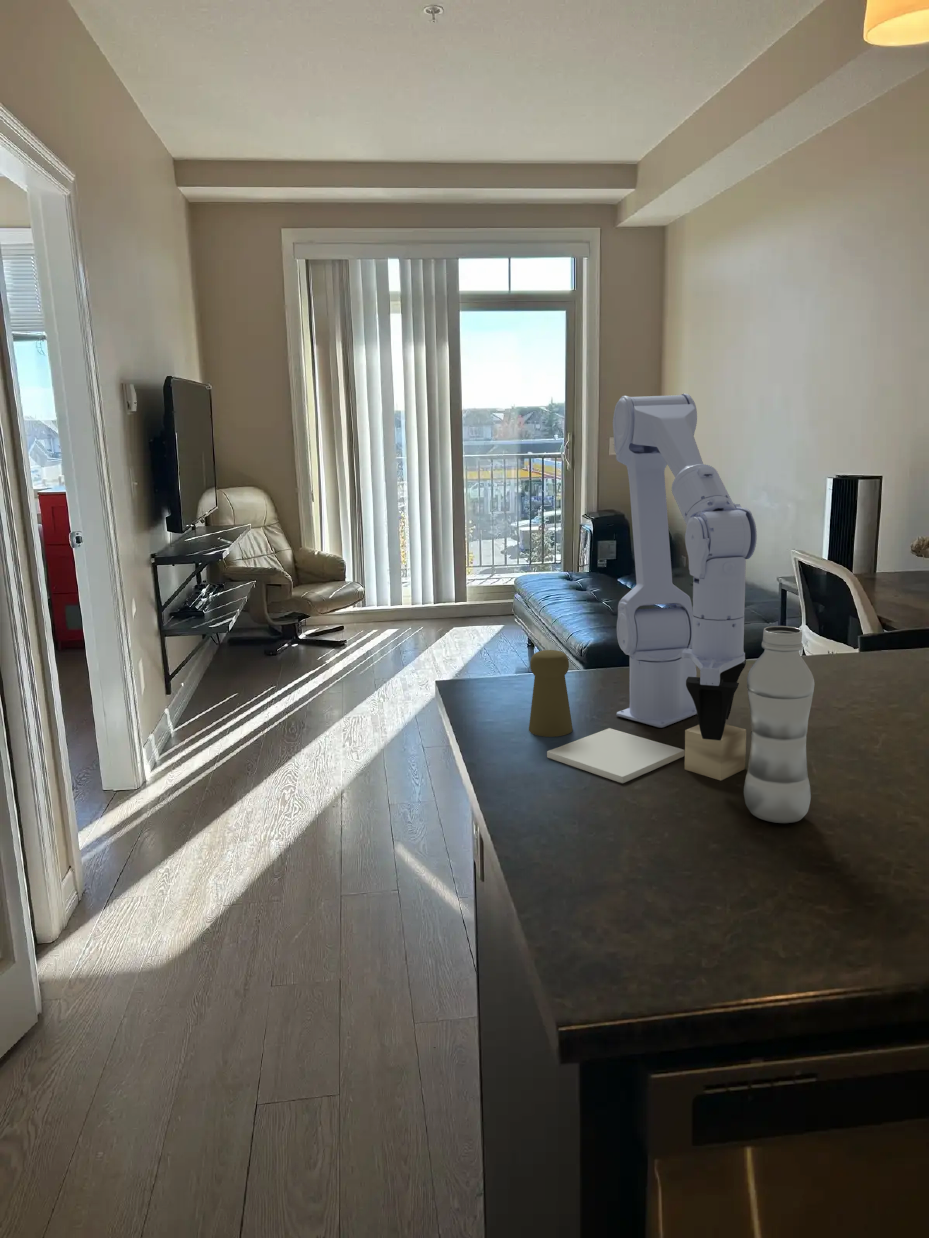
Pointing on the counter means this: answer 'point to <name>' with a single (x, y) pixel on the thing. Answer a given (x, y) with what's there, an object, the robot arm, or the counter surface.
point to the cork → (550, 695)
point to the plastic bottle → (779, 728)
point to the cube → (715, 752)
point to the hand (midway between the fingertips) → (715, 728)
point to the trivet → (616, 754)
